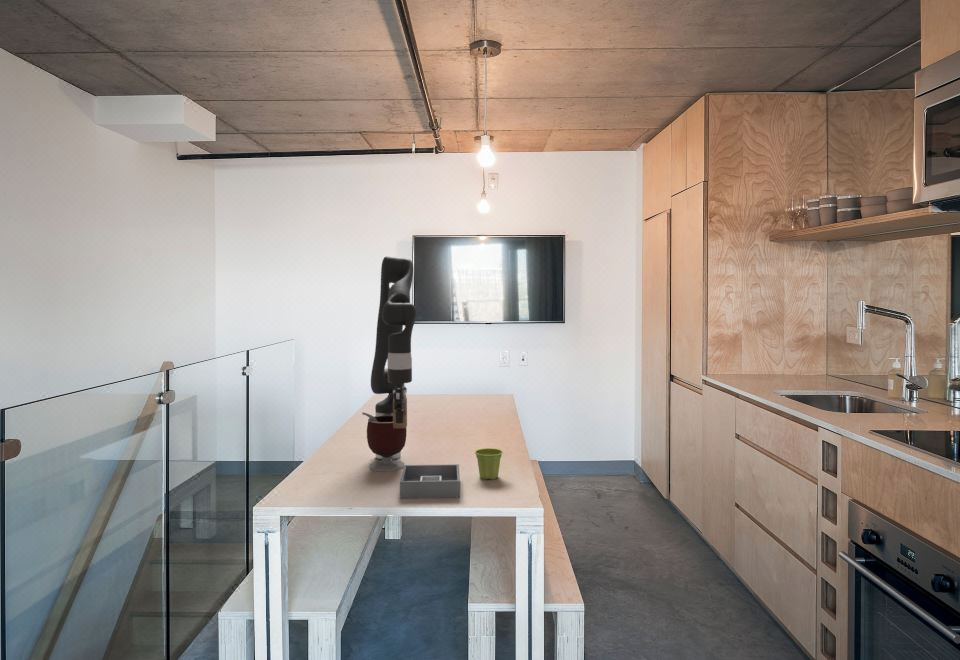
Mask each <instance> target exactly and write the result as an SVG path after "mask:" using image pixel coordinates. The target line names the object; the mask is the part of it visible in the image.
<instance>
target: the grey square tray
mask: <svg viewBox="0 0 960 660" xmlns="http://www.w3.org/2000/svg"><path fill="white" fill-rule="evenodd" d="M402 469H403V470H402V473H401V475H400V481H399V499H437V498H438V499H439V498H440V499H441V498H445V499H446V498H447V499H449V498H461V474H460V464H458V463H457V464H407V465H406V464H404V467H403V468H402Z"/></svg>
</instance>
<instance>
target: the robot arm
mask: <svg viewBox="0 0 960 660" xmlns="http://www.w3.org/2000/svg"><path fill="white" fill-rule="evenodd" d="M413 278H414V263H413V261H412V259H410V258H407V257H400V256H399V257H398V256H389V255H388V256H387V255H386V256H384V257H383V259H382V263H381V269H380V290H379V291H380V296H379V306H378V313H377V314H378V315H377V323H376V333H375V334H376V335H375V336H376V338H375V339H376V340H375V349H374V356H373V357H374V358H373V363H372V368H371V373H370V374H371V375H370V389H371V391H372V393H373V394H374V395H383V394H388V395H387V396H386V397H385V398H384V399H383V400H381V401H378V402H377V403H375V407H374V409H375V416H382V415H393V399H394V409H395V411H396V423H403V410H404V408H403V404H404V403H405V398H406V397H407V392H408V389H407V387H406V386H405V384H409V383H411V382H413V358H412V334H413V329H414V325H415V322H416V318H417V313H418V312H417V309H416V306H415V304H414V303H411V288H412V284H413ZM390 284H392V285H391V287H390ZM386 364H387V365H386ZM386 366H387V368H386ZM402 399H403V401H402ZM397 404H401V406H397ZM401 452H402V451H401ZM401 452H399V453H397V454H395V455H393V456H391V459H392V460H397V459H398V458H400V457H401V456H402V455H401V454H402V453H401ZM375 458H377V460H378V459H379V460H382V459H383V457H382V456H380V455H377V454H375Z"/></svg>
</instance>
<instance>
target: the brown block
mask: <svg viewBox="0 0 960 660" xmlns="http://www.w3.org/2000/svg"><path fill="white" fill-rule="evenodd" d="M402 401H403V399H402ZM397 406H401V404H397ZM403 408H404V410H403V423H396V411H395V409H394V399H393V428H406V429H407V428H408V427H407V426H408V397H407V396H406V398H405V403H404V404H403Z"/></svg>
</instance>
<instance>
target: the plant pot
mask: <svg viewBox="0 0 960 660" xmlns="http://www.w3.org/2000/svg"><path fill="white" fill-rule="evenodd" d="M503 453H504V451H503V450H501V449H500V448H499V449H498V448H491V447H490V448H478V449H476V450H475V451H474V454H475V456H476V459H477V465H478V474H479V478H481V479H483V480H488V479H489V480H495V479H498V478H499V472H500V471H499V470H500V464H501V458H502V454H503Z"/></svg>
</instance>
